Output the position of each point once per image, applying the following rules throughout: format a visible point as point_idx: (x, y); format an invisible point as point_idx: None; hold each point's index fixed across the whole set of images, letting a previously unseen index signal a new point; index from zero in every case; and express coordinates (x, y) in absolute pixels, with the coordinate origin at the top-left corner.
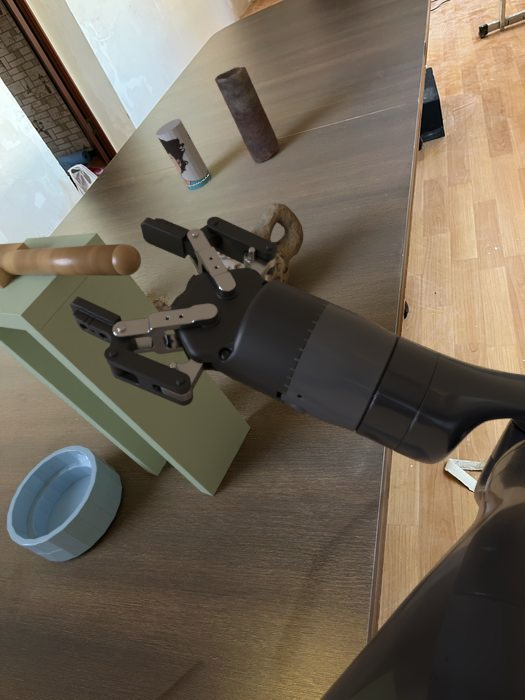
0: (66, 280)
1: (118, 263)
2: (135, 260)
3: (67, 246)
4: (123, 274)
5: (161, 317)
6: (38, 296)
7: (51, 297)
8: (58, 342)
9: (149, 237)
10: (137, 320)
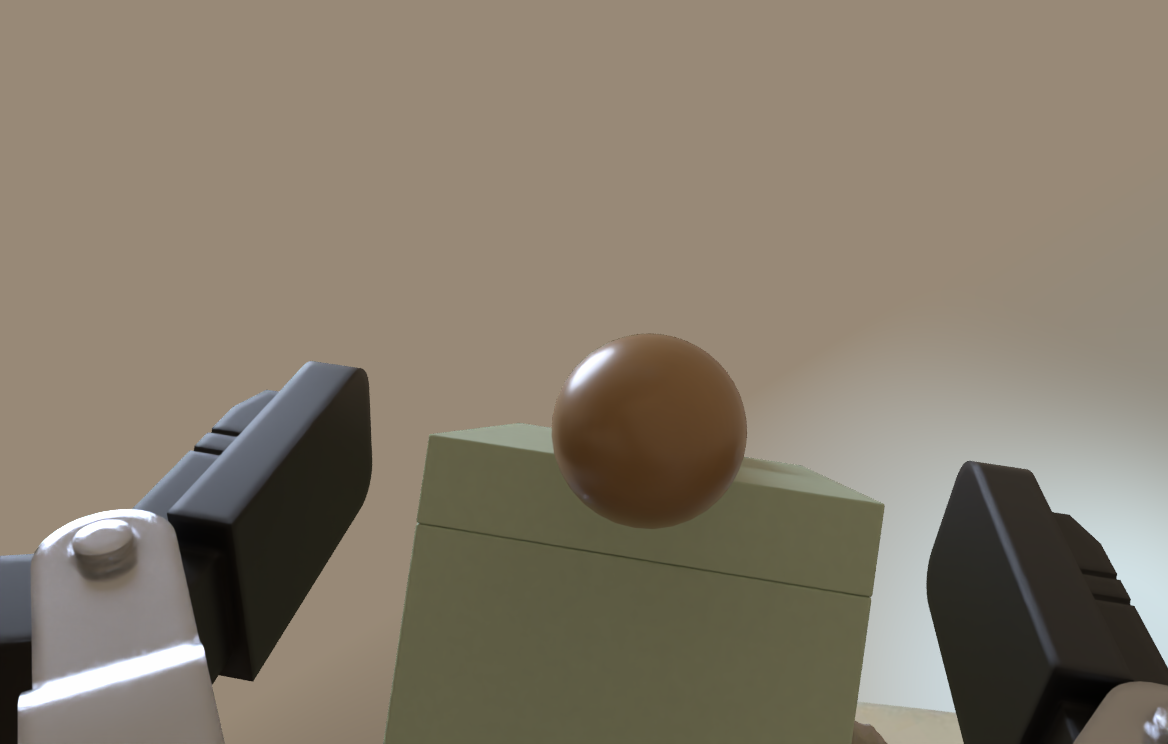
0: None
1: (573, 379)
2: (644, 440)
3: (787, 480)
4: (559, 465)
5: (140, 722)
6: (520, 449)
7: (547, 492)
8: (425, 612)
9: (945, 564)
10: (177, 608)
